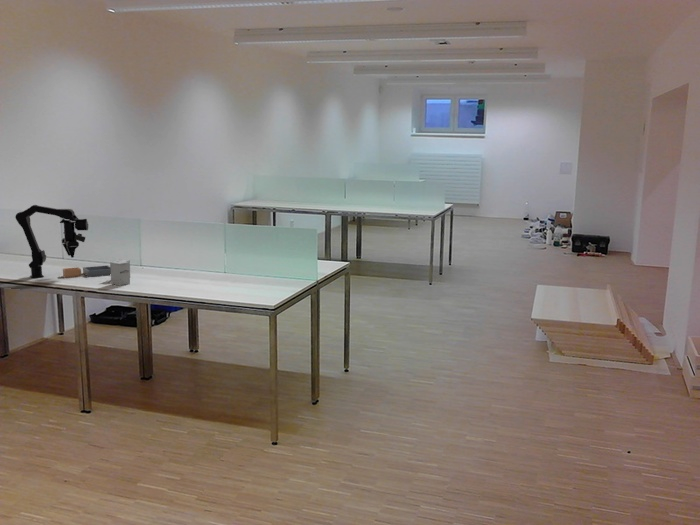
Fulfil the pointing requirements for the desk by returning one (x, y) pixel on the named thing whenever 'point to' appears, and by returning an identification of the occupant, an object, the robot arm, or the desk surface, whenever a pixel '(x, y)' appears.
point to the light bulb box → (122, 260)
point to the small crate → (71, 272)
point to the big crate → (97, 271)
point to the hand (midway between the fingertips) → (70, 256)
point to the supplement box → (120, 273)
